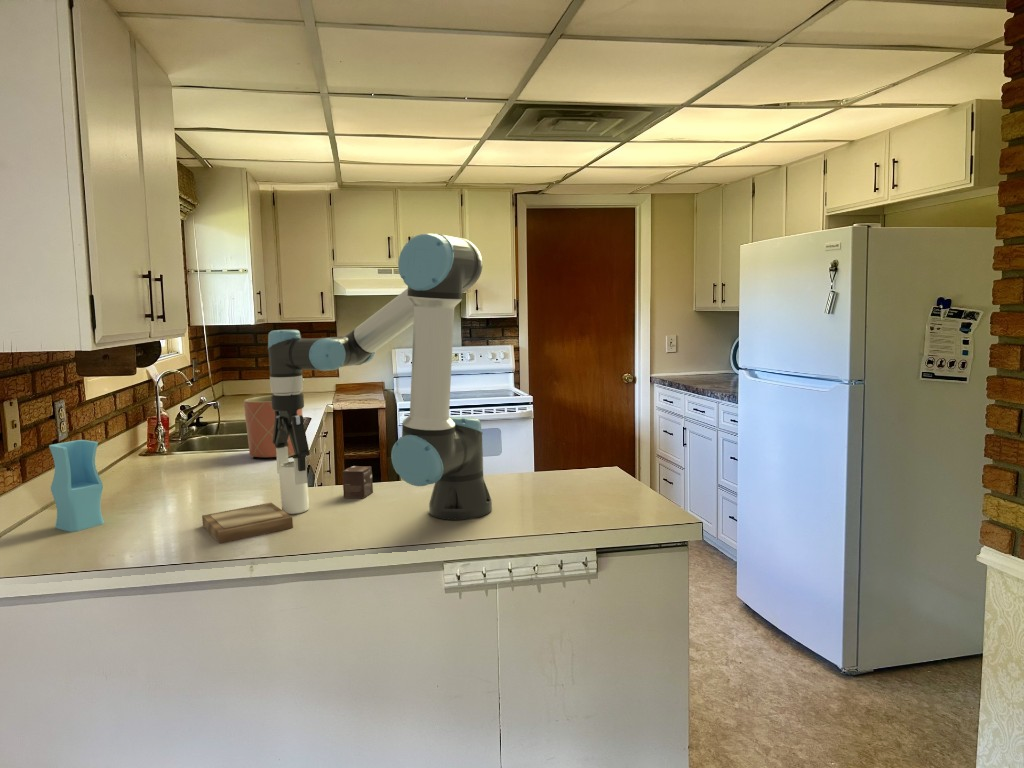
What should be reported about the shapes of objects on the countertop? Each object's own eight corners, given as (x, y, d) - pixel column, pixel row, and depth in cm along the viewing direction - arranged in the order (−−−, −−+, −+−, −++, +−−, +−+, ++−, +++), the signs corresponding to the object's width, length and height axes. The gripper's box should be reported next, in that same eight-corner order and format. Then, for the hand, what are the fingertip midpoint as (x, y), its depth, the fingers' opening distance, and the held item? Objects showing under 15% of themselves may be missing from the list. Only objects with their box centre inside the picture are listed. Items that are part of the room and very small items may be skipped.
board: (293, 527, 159) (292, 516, 159) (219, 543, 150) (218, 531, 150) (271, 512, 172) (270, 501, 172) (202, 525, 163) (202, 514, 162)
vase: (71, 532, 161) (62, 448, 159) (55, 527, 165) (45, 445, 163) (106, 523, 168) (98, 441, 165) (89, 518, 172) (81, 439, 170)
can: (314, 508, 174) (311, 461, 173) (296, 515, 168) (293, 467, 167) (294, 506, 177) (291, 460, 175) (276, 513, 171) (272, 465, 170)
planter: (236, 460, 234) (232, 402, 232) (265, 449, 253) (261, 394, 250) (289, 461, 231) (285, 401, 229) (314, 449, 250) (311, 394, 247)
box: (364, 498, 182) (362, 471, 181) (343, 498, 183) (341, 471, 182) (373, 492, 188) (372, 466, 187) (352, 492, 189) (351, 465, 188)
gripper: (320, 397, 161) (325, 485, 164) (286, 387, 181) (290, 466, 184) (288, 400, 157) (293, 491, 159) (256, 389, 177) (261, 470, 180)
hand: (292, 478), depth 172 cm, fingers open, 13 cm apart
